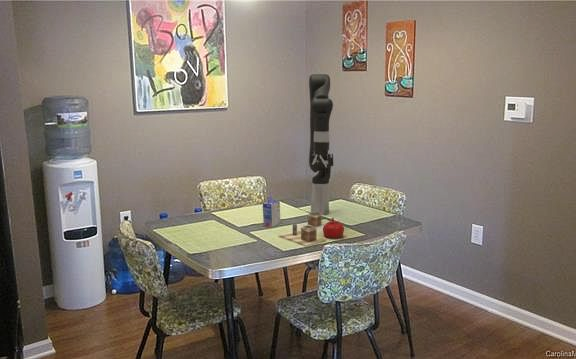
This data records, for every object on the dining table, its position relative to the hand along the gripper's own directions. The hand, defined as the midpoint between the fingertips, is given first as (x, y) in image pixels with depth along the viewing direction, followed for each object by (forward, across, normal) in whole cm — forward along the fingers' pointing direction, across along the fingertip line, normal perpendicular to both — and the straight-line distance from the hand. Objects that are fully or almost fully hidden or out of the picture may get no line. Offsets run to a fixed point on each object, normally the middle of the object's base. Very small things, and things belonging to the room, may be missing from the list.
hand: (321, 173), depth 262 cm
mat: (+28, -3, -3) cm, 28 cm away
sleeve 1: (+28, -6, +1) cm, 28 cm away
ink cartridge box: (+28, -22, -14) cm, 38 cm away
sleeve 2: (+27, +12, -19) cm, 35 cm away
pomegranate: (+28, +14, -5) cm, 32 cm away
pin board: (+28, +7, -19) cm, 34 cm away
